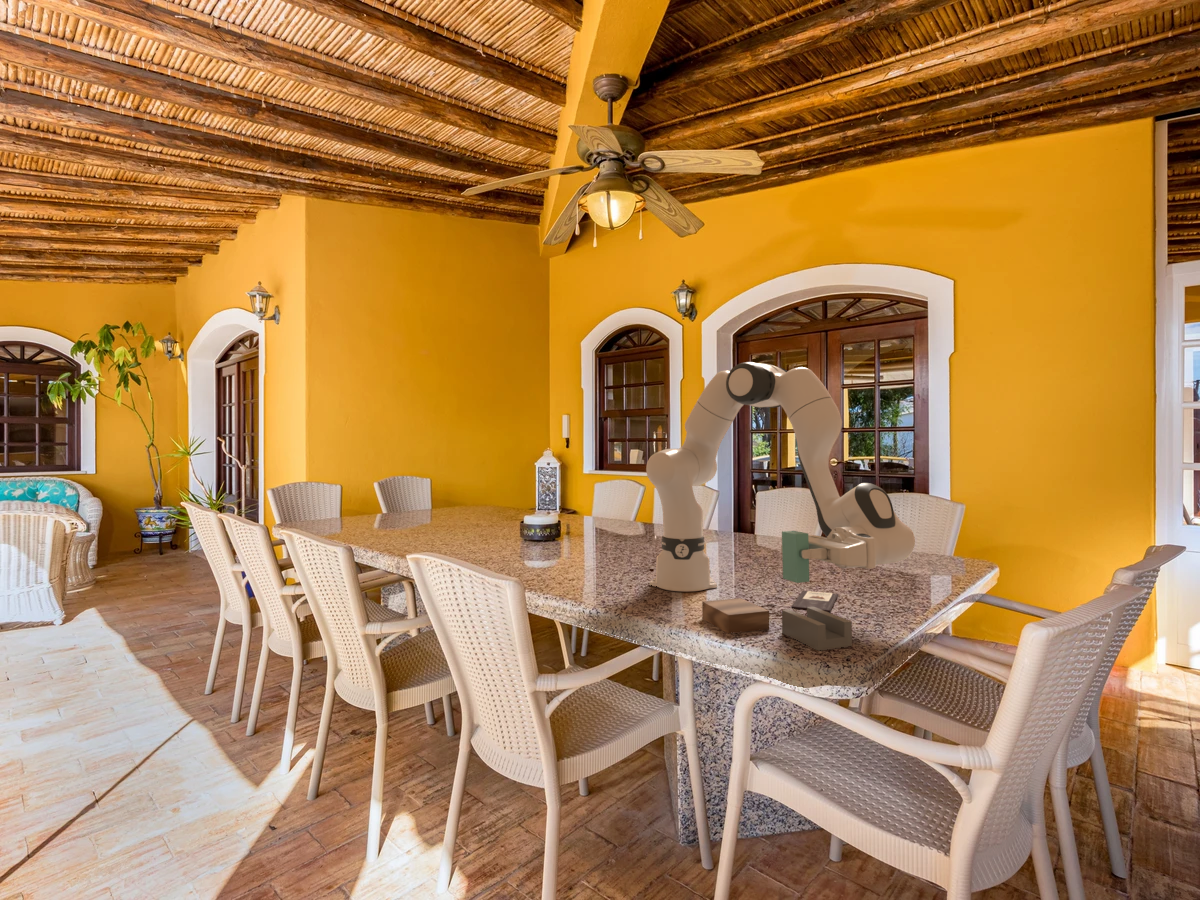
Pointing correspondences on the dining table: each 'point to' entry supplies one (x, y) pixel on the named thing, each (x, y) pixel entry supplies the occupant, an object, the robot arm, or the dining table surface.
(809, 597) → the chocolate bar
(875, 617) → the dining table surface
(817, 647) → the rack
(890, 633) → the dining table surface
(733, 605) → the brown block
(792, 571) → the sage green upright block
